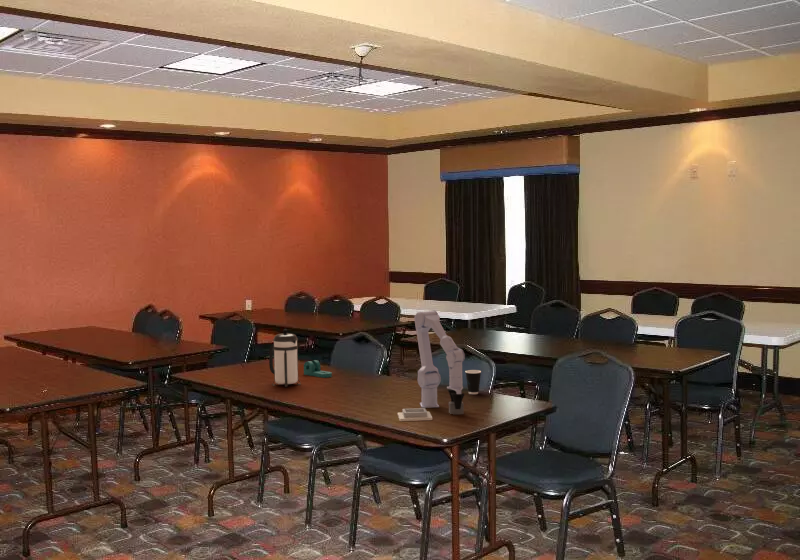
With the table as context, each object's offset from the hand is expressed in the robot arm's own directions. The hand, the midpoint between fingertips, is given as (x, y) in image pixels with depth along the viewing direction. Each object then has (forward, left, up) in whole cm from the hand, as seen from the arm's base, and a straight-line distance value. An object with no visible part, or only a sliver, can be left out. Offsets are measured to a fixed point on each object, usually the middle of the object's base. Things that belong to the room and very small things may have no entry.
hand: (456, 407), depth 359 cm
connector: (0, 0, -3) cm, 3 cm away
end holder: (+5, -19, -3) cm, 20 cm away
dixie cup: (-41, +15, -3) cm, 44 cm away
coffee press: (-78, -80, -3) cm, 112 cm away
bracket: (-103, -62, -3) cm, 120 cm away
